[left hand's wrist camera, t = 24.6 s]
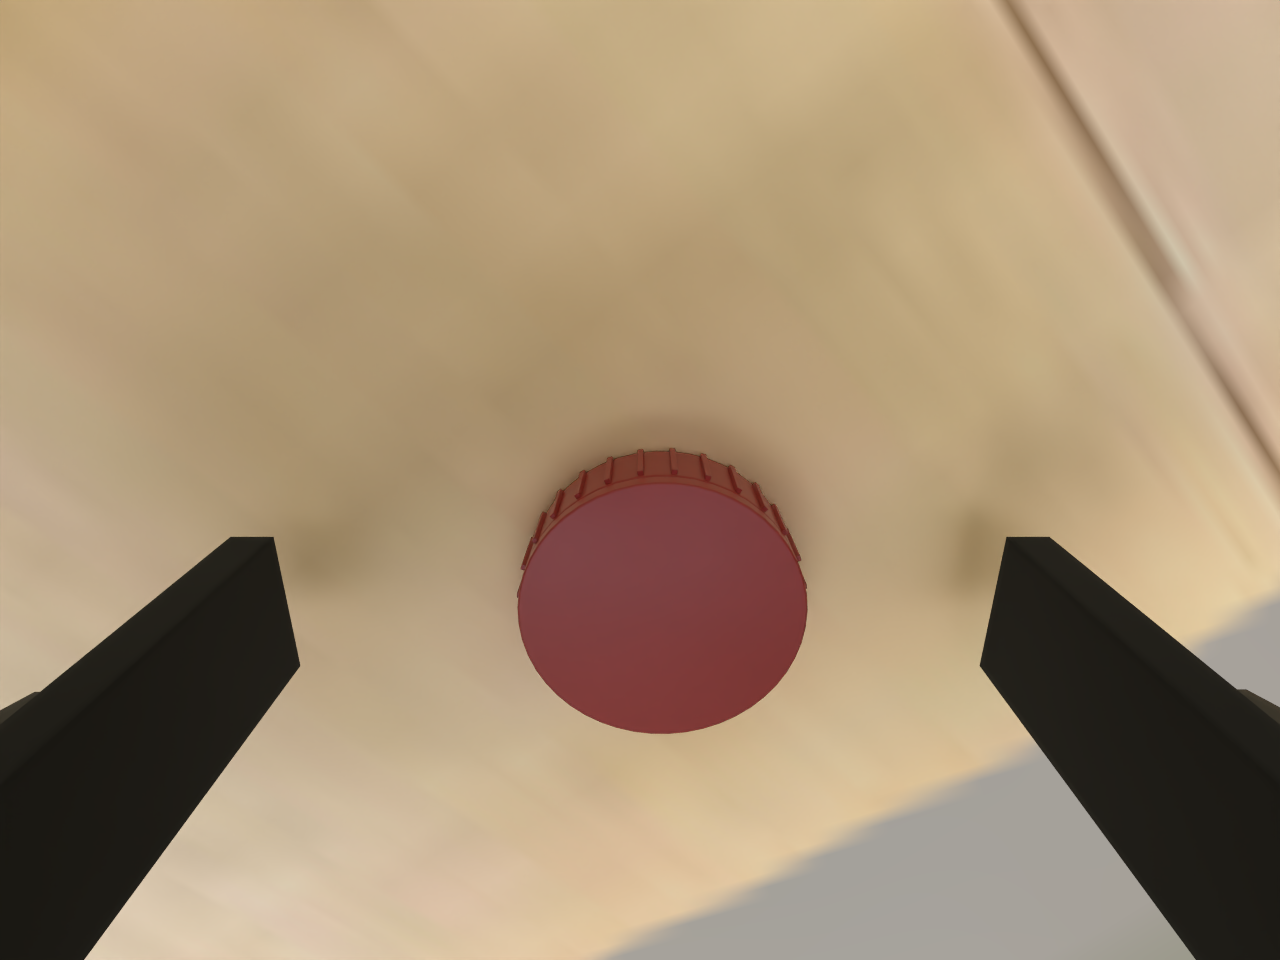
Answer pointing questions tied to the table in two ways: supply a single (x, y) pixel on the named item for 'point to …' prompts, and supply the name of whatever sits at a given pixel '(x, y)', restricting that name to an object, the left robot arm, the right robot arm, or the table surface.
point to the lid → (661, 594)
